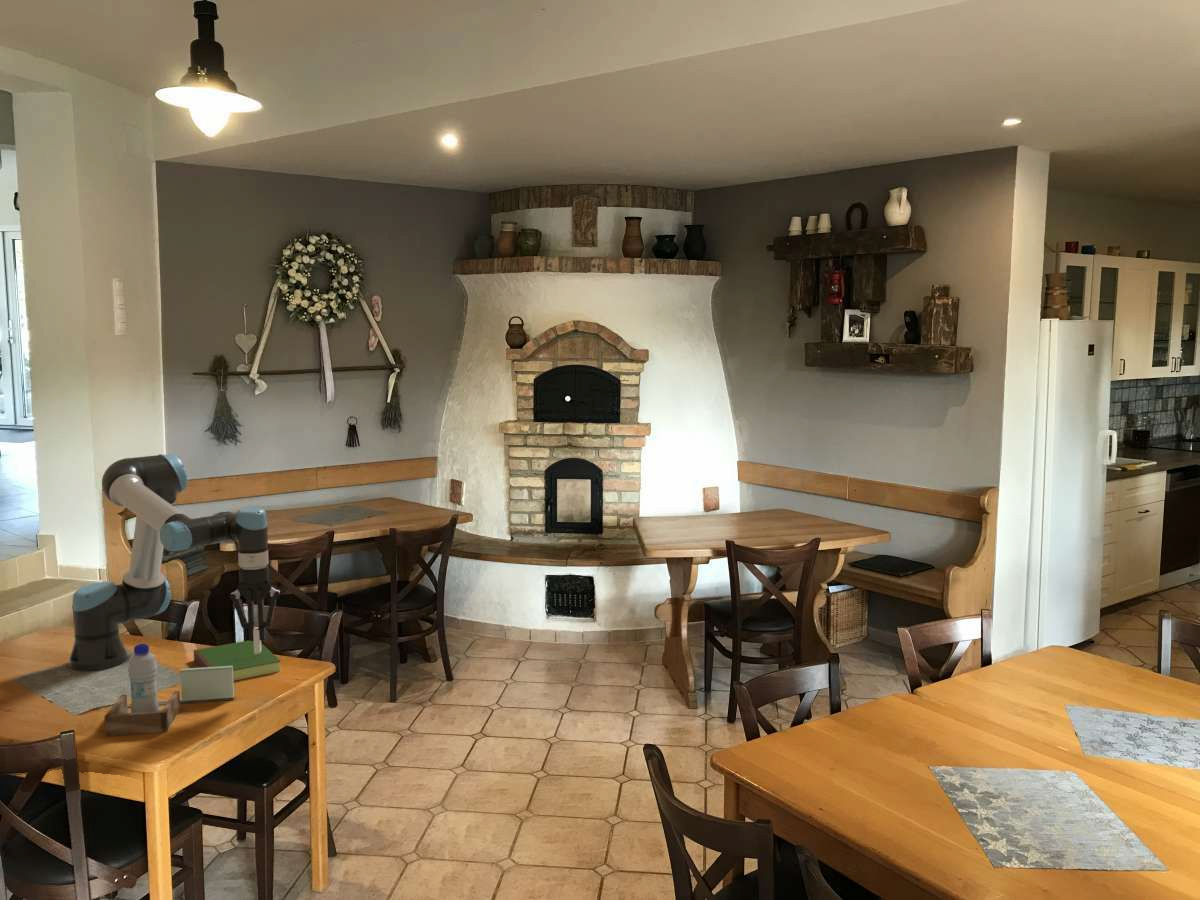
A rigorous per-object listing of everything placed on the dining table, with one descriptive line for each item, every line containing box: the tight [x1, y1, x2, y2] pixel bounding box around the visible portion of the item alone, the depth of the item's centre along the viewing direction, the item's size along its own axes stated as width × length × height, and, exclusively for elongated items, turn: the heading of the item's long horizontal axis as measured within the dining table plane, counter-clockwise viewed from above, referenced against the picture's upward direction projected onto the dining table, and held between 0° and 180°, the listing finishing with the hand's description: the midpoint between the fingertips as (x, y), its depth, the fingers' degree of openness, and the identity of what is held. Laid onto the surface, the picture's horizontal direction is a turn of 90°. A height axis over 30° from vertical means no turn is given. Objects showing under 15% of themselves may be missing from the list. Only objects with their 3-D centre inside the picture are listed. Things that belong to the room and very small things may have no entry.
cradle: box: [103, 690, 236, 737], centre depth 242 cm, size 20×27×5 cm
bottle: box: [127, 643, 160, 713], centre depth 238 cm, size 7×7×20 cm
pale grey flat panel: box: [179, 666, 235, 701], centre depth 252 cm, size 1×13×9 cm, turn 102°
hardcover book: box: [193, 640, 281, 682], centre depth 279 cm, size 25×19×4 cm
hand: (257, 651), depth 253 cm, fingers closed
